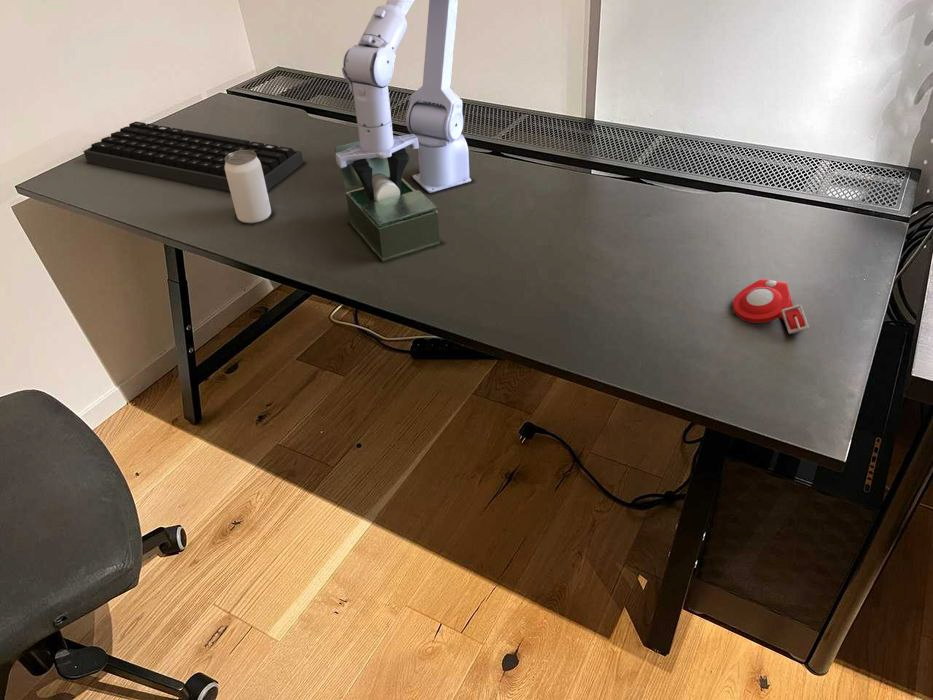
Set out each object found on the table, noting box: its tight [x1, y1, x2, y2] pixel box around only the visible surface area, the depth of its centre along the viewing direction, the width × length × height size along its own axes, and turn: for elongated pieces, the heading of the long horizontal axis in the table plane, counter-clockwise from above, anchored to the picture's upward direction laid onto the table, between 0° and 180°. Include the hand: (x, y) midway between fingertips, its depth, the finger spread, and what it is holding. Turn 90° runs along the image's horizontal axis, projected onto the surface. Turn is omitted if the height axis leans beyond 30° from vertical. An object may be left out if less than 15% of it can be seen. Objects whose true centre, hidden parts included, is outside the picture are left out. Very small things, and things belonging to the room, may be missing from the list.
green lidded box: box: [345, 177, 441, 263], centre depth 135 cm, size 15×11×7 cm
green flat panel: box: [334, 140, 390, 190], centre depth 137 cm, size 7×11×1 cm
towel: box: [372, 172, 400, 202], centre depth 135 cm, size 4×6×4 cm
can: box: [225, 150, 272, 224], centre depth 141 cm, size 6×6×12 cm
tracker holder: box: [732, 278, 810, 335], centre depth 114 cm, size 12×4×10 cm
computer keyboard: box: [83, 121, 304, 192], centre depth 162 cm, size 45×16×4 cm, turn 66°
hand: (382, 194), depth 136 cm, fingers closed on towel, 4 cm apart
